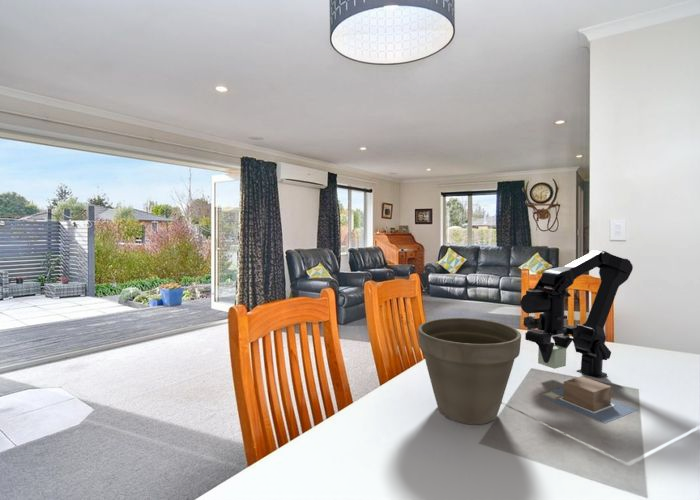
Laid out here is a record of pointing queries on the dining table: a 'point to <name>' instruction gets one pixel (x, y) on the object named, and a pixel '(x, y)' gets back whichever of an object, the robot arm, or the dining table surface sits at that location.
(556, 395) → the board
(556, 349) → the sage cube
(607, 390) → the walnut base block
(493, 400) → the plant pot
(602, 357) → the robot arm
